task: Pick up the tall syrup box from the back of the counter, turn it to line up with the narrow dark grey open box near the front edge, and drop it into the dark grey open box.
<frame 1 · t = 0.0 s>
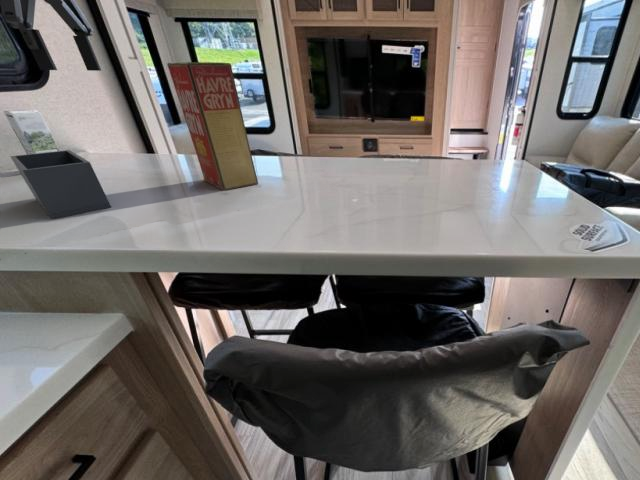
hand: (73, 70, 74), 23 cm above the table, tool pointing down, fingers open, 13 cm apart
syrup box: (53, 169, 95), on the table
food packaging: (231, 182, 86), on the table
dark grey open box: (73, 203, 71), on the table
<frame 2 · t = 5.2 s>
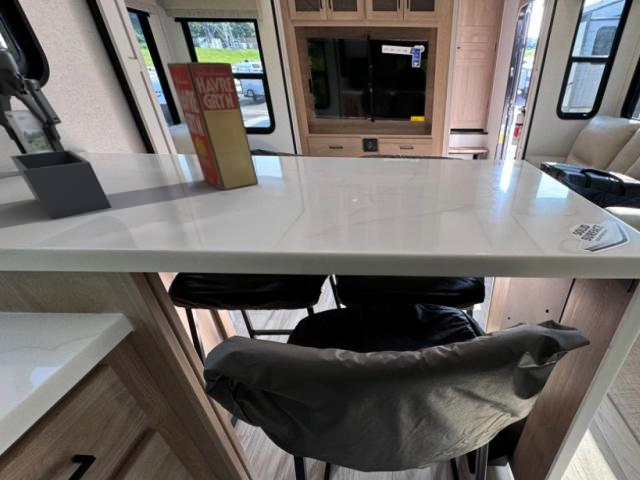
hand: (44, 153, 92), 4 cm above the table, tool pointing down, fingers closed on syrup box, 8 cm apart
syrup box: (53, 169, 95), on the table, touching gripper
everything else where it was.
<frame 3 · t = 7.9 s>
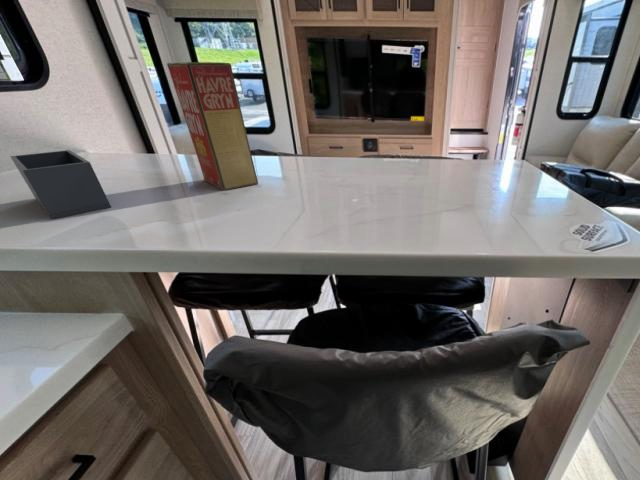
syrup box: (4, 81, 83), point 21 cm above the table, touching gripper
everything else where it was.
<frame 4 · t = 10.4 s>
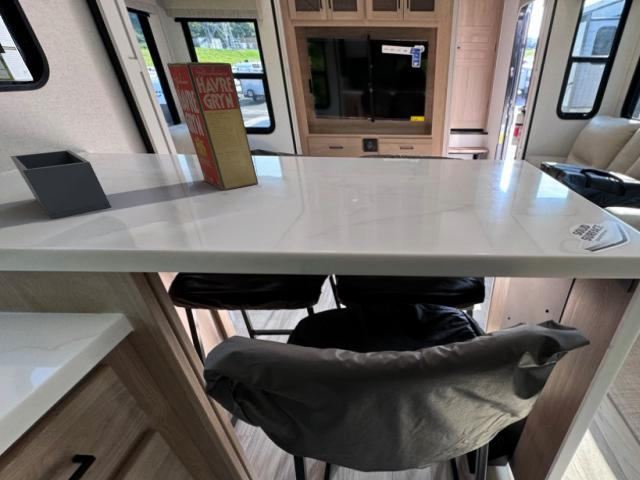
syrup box: (8, 82, 63), point 21 cm above the table, touching gripper
everything else where it was.
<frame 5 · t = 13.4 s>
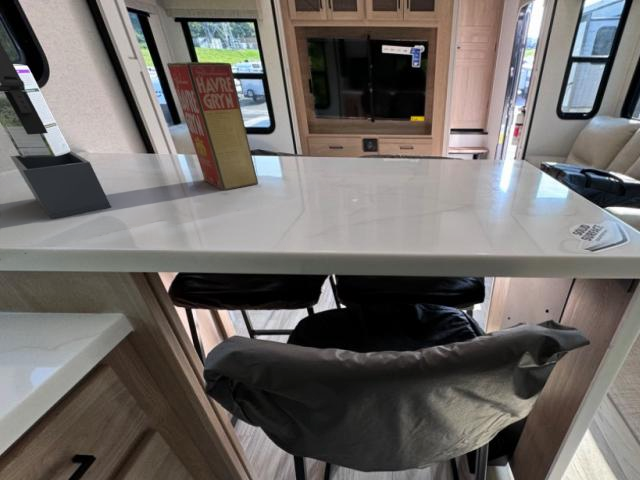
hand: (33, 131, 63), 14 cm above the table, tool pointing down, fingers closed on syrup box, 8 cm apart
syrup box: (47, 155, 65), point 9 cm above the table, touching gripper
everything else where it was.
when the fingers open (5 cm above the table, at t = 16.0 s): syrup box stays where it is, resting on dark grey open box.
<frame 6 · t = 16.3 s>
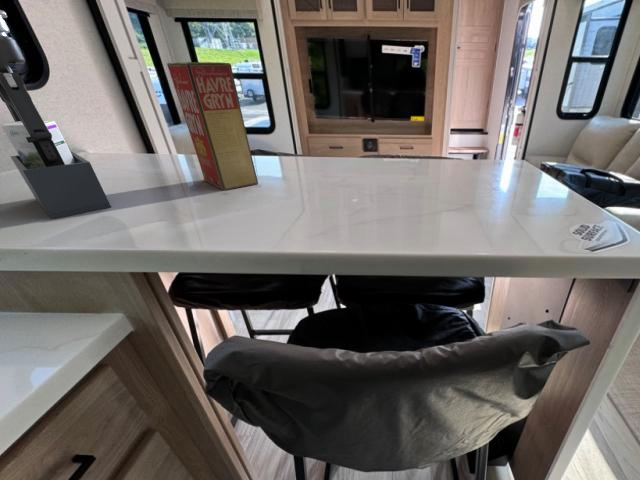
hand: (56, 173, 67), 6 cm above the table, tool pointing down, fingers open, 11 cm apart
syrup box: (71, 200, 70), point 1 cm above the table, touching dark grey open box
everything else where it was.
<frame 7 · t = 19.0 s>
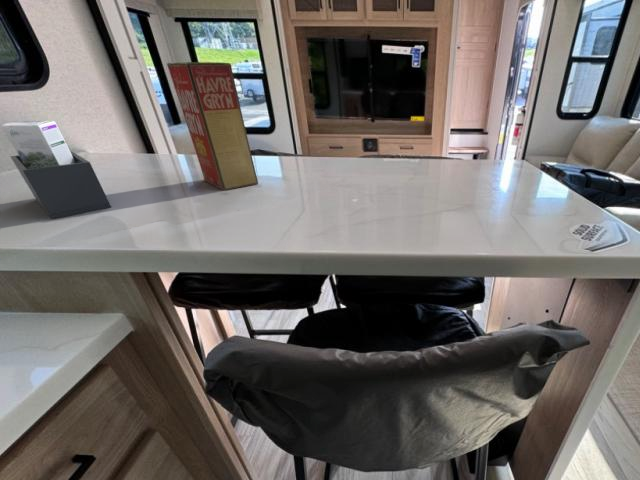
nothing on the table moved.
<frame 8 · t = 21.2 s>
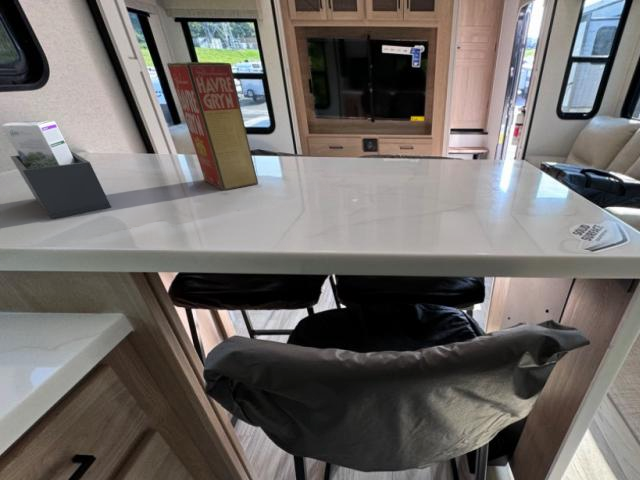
nothing on the table moved.
at the end: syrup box inside the target area in the dark grey open box (0.0 cm from its centre), point 0.6 cm above the dark grey open box's base; the gripper is holding nothing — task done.
